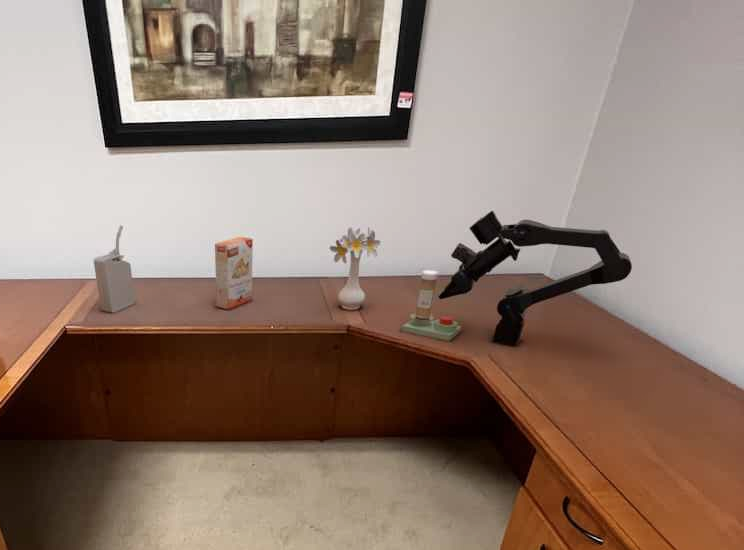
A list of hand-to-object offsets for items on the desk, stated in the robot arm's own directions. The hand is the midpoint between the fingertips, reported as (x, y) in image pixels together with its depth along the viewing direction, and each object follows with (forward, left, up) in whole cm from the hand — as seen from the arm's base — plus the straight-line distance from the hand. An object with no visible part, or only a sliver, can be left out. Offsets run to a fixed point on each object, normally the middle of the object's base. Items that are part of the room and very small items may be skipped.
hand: (442, 293), depth 166 cm
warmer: (+1, +1, -11) cm, 11 cm away
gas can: (+100, +38, -12) cm, 108 cm away
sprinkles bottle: (+5, +1, -8) cm, 9 cm away
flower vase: (+32, -6, -12) cm, 35 cm away
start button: (-3, +1, -8) cm, 9 cm away
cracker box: (+68, +13, -12) cm, 71 cm away
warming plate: (+5, +1, -8) cm, 9 cm away
